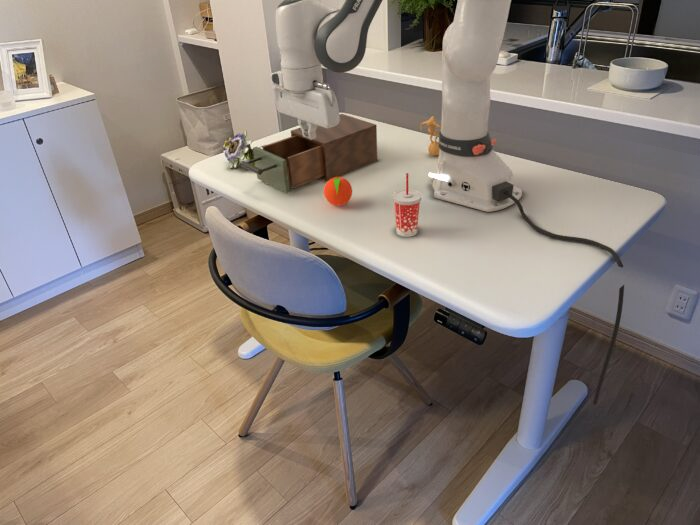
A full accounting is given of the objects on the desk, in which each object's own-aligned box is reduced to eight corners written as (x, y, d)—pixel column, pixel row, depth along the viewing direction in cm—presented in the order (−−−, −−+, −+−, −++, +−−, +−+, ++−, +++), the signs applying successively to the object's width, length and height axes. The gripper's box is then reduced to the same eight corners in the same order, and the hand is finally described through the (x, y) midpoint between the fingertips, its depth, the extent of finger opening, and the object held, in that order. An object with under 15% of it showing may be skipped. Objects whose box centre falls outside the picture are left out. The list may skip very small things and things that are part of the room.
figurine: (451, 155, 156) (453, 114, 149) (440, 163, 152) (442, 121, 146) (426, 150, 160) (427, 109, 154) (415, 157, 157) (415, 116, 150)
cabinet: (327, 181, 146) (324, 143, 140) (294, 166, 155) (290, 130, 150) (377, 160, 156) (376, 124, 150) (344, 148, 165) (341, 113, 159)
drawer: (267, 201, 136) (262, 168, 131) (239, 185, 145) (233, 154, 140) (338, 172, 148) (336, 141, 143) (308, 159, 157) (305, 129, 152)
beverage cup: (426, 230, 122) (428, 172, 114) (409, 241, 118) (409, 182, 110) (404, 222, 125) (404, 165, 118) (387, 232, 122) (386, 174, 114)
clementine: (352, 212, 131) (351, 185, 127) (324, 213, 131) (321, 186, 127) (353, 197, 137) (351, 170, 133) (325, 198, 138) (323, 172, 134)
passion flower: (236, 185, 160) (212, 150, 158) (265, 167, 165) (241, 133, 163) (248, 174, 150) (222, 137, 148) (278, 156, 155) (253, 119, 153)
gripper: (343, 81, 115) (348, 144, 123) (287, 68, 129) (295, 125, 136) (320, 88, 112) (327, 152, 119) (265, 74, 125) (274, 132, 133)
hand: (309, 137), depth 128 cm, fingers closed
